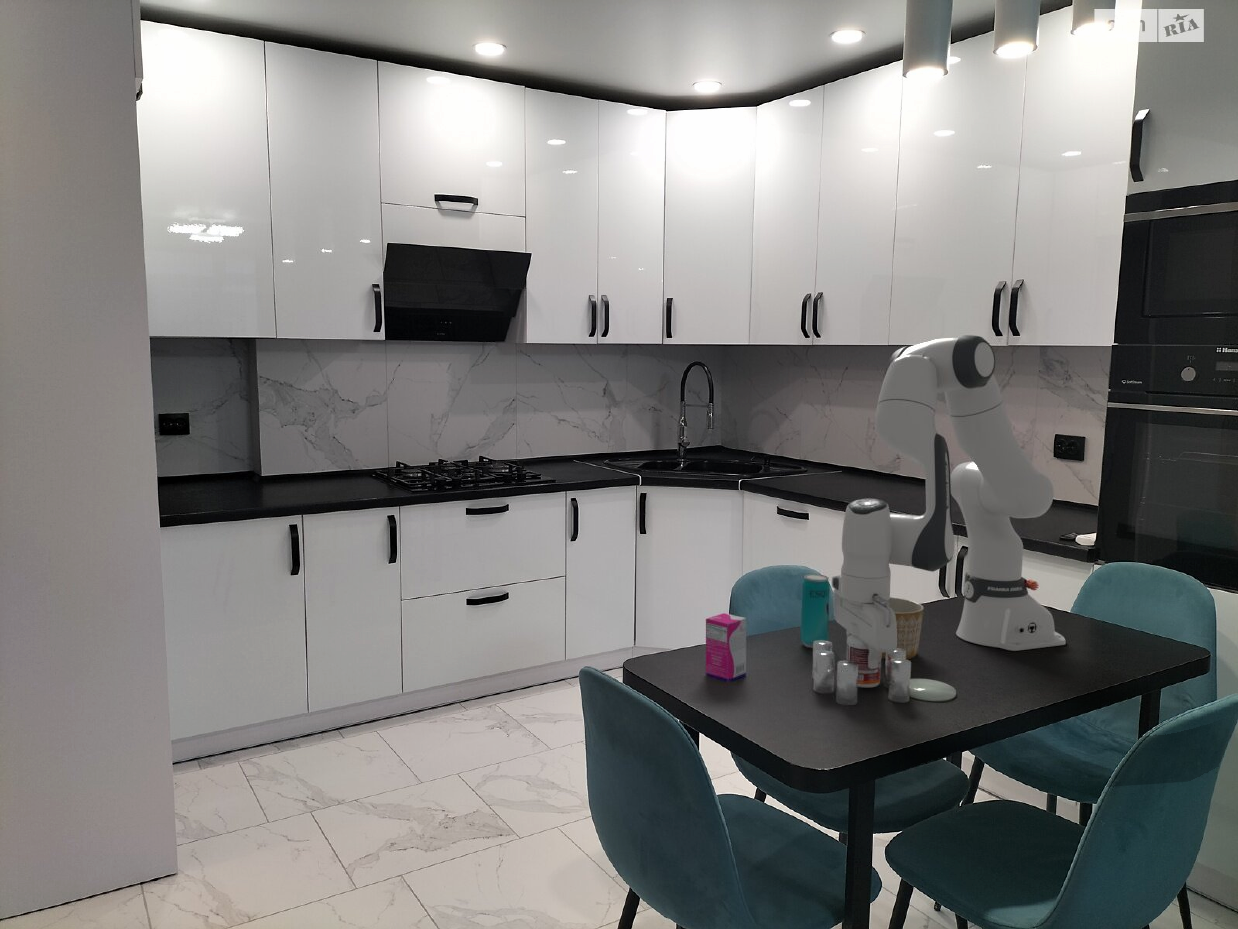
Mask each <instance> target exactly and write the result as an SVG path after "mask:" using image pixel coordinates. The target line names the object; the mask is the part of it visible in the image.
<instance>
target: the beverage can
mask: <svg viewBox="0 0 1238 929" xmlns="http://www.w3.org/2000/svg"><path fill="white" fill-rule="evenodd" d="M803 578H804V579H803V581H802V586H801V587H802V588H801V613H800V614H801V615H800V617H801V618H800V639H801V642H802V644H803V646H804V647H806V648H810V649H813V642H814V641H817V640H825V641H828V639H829V620H830V619H829V618H830V617H829V616H830V593H831V592H830V590H831V588H830V587H831V584H830V582H829V580H830V579H829V577H828V576H827V575H823V574H811V573H810V574H806V575H804V576H803Z"/></svg>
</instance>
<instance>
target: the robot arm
mask: <svg viewBox="0 0 1238 929" xmlns="http://www.w3.org/2000/svg"><path fill="white" fill-rule="evenodd" d="M995 368H996V355H995V351H994V349H993V347H992V346H991V344H990V343H989V342H988V341H987V340H986V339H985V338H984V337H982V336H978V335H974V334H972V335H970V334H966V335H962V336H956V337H955V336H954V337H953V336H951V337H943V338H942V337H941V338H935V339H933V340H929V341H925V342H921V343H917V344H914V345H913V344H911V345H909V344H908V345H906V346H903V347H901V348H899V349H897V350H895V352H893V353H892V355H891V356H890V358H889V360H888V363H887V366H886V369H887V371H886V374H885V376H884V377H883V378H884V379H883V382H882V385H881V388H880V392H879V396H878V400H877V403H876V404H877V405H876V410H875V416H874V417H875V418H874V430H875V434H876V436H877V437H878V440H879V441H880V442H881V443H882V445H883V446H885V447H886V448H887V449H888V450H890V451H892V452H893V453H895V454H897V455H898V456H901V457H903V458H904V459H908V460H909V461H912V462H914V463H916V464H917V465H919V466H921V468H923V471H924V474H925V512H924V513H923V514H921V515H913V514H903V513H895V512H890V507H889V504H888V503H887V502H885V501H884V500H882V499H878V498H861V499H857V500H853V501H852V502H850V503H848V505H846V509H845V513H844V518H843V523H842V531H841V532H842V534H841V552H842V556H843V561H842V565H841V569H840V575H834V576H832V577H831V587H832V588H833V589H834V590H833V596H832V598H833V615H834V616H833V617H834V620H835V622H836V623H837V624H839V625H840V626H841V627H842V628H843V629H845V630H846V639H847V638H848V637H849V636H850V635H852V634H851V633H850V632H849V629H850V622H852V623H854V624H855V625H856V626H858V627H859V636H857V637H858V638H859V639H860V640H862V641H863V642H864V643H866V644H867V645H868V650H869V655H868V657H866V665H867V666H868V667H869V668H870V669H875V668H878V662H879V658H880V656H881V653H884V652H894V651H895V649H896V647H897V624H896V616H895V613H894V611H893V610H892V609H891V608H890V606H889V602H888V600H889V599H890V597H891V575H892V574H891V568H890V565H897V566H905V567H912V568H914V569H917V570H919V569H920V570H923V571H927V572H936V571H938V570H940V569H941V568H943V567H945V566H946V565H948V564H949V562H951V561H952V559H953V555H954V552H955V536H954V528H953V518H952V497H953V499H954V500H955V501H956V503H957V504H958V507H959V509H960V512H961V514H962V518H963V519H964V524H965V528H966V533H967V542H968V543H967V545H968V547H967V548H968V549H967V552H968V553H967V572H965V573H964V574H965V575H964V584H963V585H964V586H963V587H964V588H963V593H964V594H963V595H964V602H963V609H962V613H961V618H960V621H959V625H958V627H957V630H956V632H955V634H956V636H957V637H958V638H959V639H962V640H963V641H966V642H969V643H973V644H977V645H980V646H985V647H986V646H987V647H991V648H1000V649H1003V650H1007V651H1013V652H1016V651H1025V650H1032V649H1041V648H1047V647H1048V648H1050V647H1057V646H1064V645H1066V639H1065V637H1064V636H1063V635H1062V634H1060V633H1059V632H1057V631H1055V628H1056V627H1055V620H1054V616H1053V614H1052V613H1051V612H1050V611H1049V610H1048V609H1047V608H1046V607H1044V606H1043V605H1042V603H1040V602H1038V601H1037V600H1036V599H1035V598H1034V597H1033V596H1031V595H1030V594H1029V590H1028V589H1030V590H1031V591H1037V590H1038V588H1039V586H1040V585H1039V583H1038V582H1037V581H1035V580H1033V579H1028V580H1027V579H1026V578H1025V577H1023V576H1022V575H1023V574H1022V572H1023V555H1024V554H1023V553H1024V545H1023V541H1022V539H1021V537H1020V536H1019V535H1018V533H1017V532H1016V531H1015V529H1014V527H1013V525H1012V523H1011V519H1010V518H1013V519H1030V518H1033V519H1034V518H1035V519H1036V518H1039V517H1041V516H1042V515H1044V514H1045V513H1047V512H1048V510H1049V509H1050V508H1051V506H1052V503H1053V502H1054V501H1053V500H1054V496H1055V493H1054V491H1055V490H1054V486H1053V482H1052V481H1051V479H1050V478H1049V477H1048V476H1047V475H1045V474H1044V473H1043V472H1042V471H1040V470H1039V469H1038V468H1037V467H1036V466H1035V465H1034V463H1033V462H1032V461H1031V460H1030V458H1029V457H1028V456H1027V454H1026V452H1025V451H1024V450H1023V448H1022V447H1021V445H1020V443H1019V441H1018V440H1017V438H1016V435H1015V434H1014V431H1013V428H1012V426H1011V423H1010V418H1009V417H1008V413H1007V410H1006V407H1005V404H1004V400H1003V397H1002V396H1003V395H1002V392H1001V390H1000V387H999V384H998V382H997V380H996V377H995V375H994V371H995ZM939 394H944V398H945V402H946V407H947V411H948V416H949V419H950V421H951V425H952V429H953V432H954V435H955V438H956V442H957V445H958V447H959V448H960V450H961V451H962V452H963V453H964V454H966V455H967V456H968V457H969V459H970V460H971V461H966V462H963V463H959V464H958V465H957V466H956V467H954V469H953V470H952V472H951V462H950V451H949V447H948V443H947V441H946V438H945V437H944V436H943V435H941V434H939V433H938V431H937V429H936V428H937V427H936V424H935V415H936V409H937V400H938V395H939Z"/></svg>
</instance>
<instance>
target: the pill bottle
mask: <svg viewBox="0 0 1238 929" xmlns="http://www.w3.org/2000/svg"><path fill="white" fill-rule="evenodd" d="M849 632H850V633H851V634H852V635H850V636H849V637H848V638H847V637H846V660H847V661H853V662H856V663H858V685H857V688H875V687H877V686H878V685H880V683H881V677H880V670H881V671H882V659H881V656H880V658H879V662H878V668H875V669H870V668H869V667H868V666H867V665H866V657H868V655H869V650H868V645H867V644H866V643H864V642H863V641H862V640H860V639H859V638H858V637H857V636H859V627H858V626H856V625H855V624H854V623H852V622H850V629H849Z"/></svg>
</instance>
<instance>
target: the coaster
mask: <svg viewBox="0 0 1238 929" xmlns="http://www.w3.org/2000/svg"><path fill="white" fill-rule="evenodd" d="M956 695H957V690H956V689H955V688H954V687H953V686H951V685H950V684H948V683H946V682H943V681H939V680H935V679H928V678H910V697H909V698H913V699H917V700H921V701H927V702H946V701H951V700H952V699H955V697H956Z"/></svg>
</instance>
